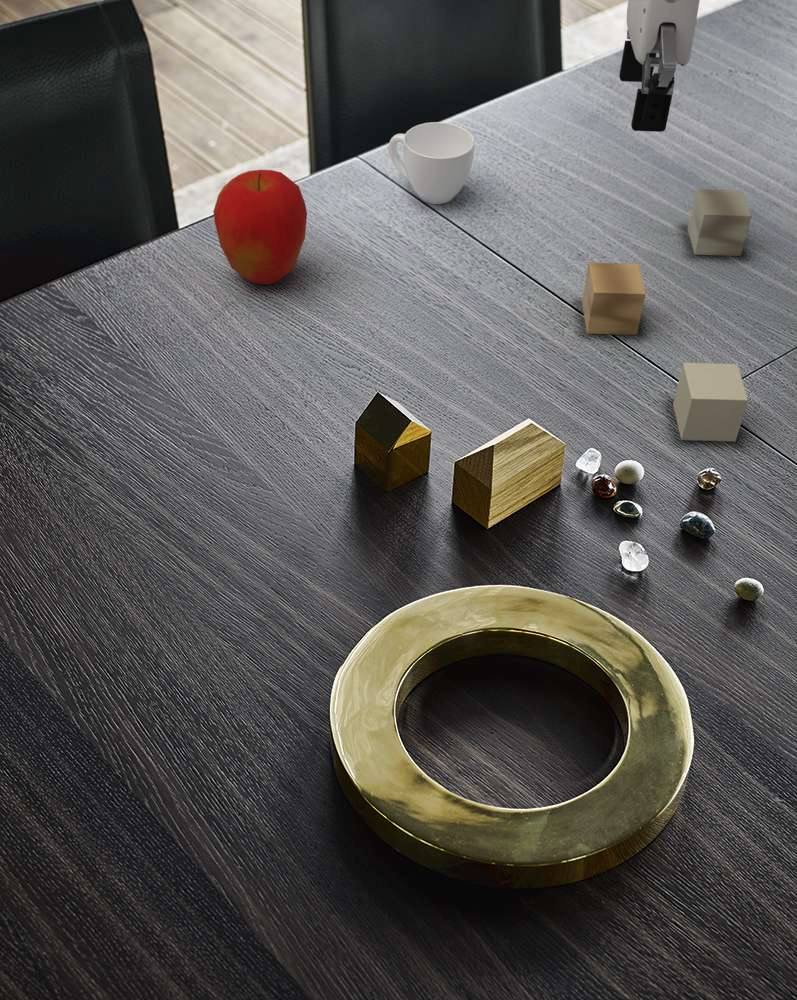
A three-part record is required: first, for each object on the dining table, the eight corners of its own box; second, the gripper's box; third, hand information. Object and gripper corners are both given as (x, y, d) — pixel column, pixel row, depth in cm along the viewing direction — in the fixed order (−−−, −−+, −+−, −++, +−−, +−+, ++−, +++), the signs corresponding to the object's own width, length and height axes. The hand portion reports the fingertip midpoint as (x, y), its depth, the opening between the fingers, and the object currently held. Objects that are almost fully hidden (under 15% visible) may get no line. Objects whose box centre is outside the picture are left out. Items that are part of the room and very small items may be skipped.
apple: (280, 240, 133) (276, 138, 125) (325, 283, 128) (324, 179, 120) (202, 267, 130) (193, 163, 121) (246, 312, 125) (239, 207, 116)
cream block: (726, 405, 117) (738, 363, 113) (735, 442, 113) (748, 400, 110) (672, 404, 117) (683, 362, 113) (680, 440, 113) (691, 398, 110)
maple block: (630, 304, 127) (639, 263, 124) (637, 335, 124) (645, 293, 120) (581, 303, 127) (588, 262, 124) (586, 333, 124) (594, 292, 120)
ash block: (732, 230, 138) (742, 190, 134) (740, 256, 134) (751, 216, 131) (687, 228, 138) (696, 188, 134) (694, 255, 134) (704, 214, 131)
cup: (450, 220, 137) (454, 165, 132) (371, 193, 141) (372, 139, 136) (482, 188, 142) (487, 134, 137) (405, 163, 145) (407, 109, 141)
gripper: (734, -34, 104) (693, 151, 116) (701, -112, 116) (666, 64, 128) (644, -38, 104) (612, 149, 116) (620, -115, 116) (593, 61, 128)
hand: (641, 104), depth 122 cm, fingers open, 9 cm apart
